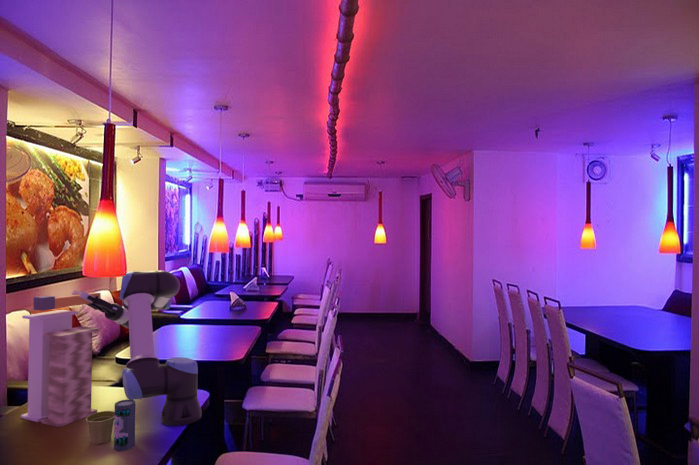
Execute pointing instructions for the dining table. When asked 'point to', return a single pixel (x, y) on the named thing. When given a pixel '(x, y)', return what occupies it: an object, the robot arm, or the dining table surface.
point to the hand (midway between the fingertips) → (77, 293)
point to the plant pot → (100, 426)
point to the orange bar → (60, 301)
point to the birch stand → (69, 375)
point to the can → (124, 425)
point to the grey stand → (42, 359)
